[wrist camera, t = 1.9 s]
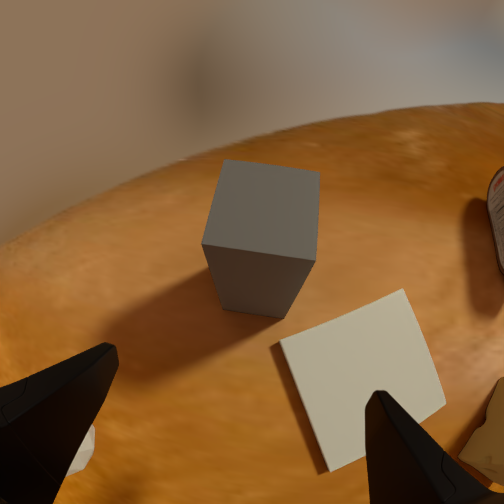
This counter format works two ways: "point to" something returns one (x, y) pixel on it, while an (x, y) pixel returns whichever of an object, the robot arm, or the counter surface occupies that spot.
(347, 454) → the tile
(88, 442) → the ball
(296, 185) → the block
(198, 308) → the counter surface
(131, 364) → the counter surface
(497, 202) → the tin
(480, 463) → the cheese
